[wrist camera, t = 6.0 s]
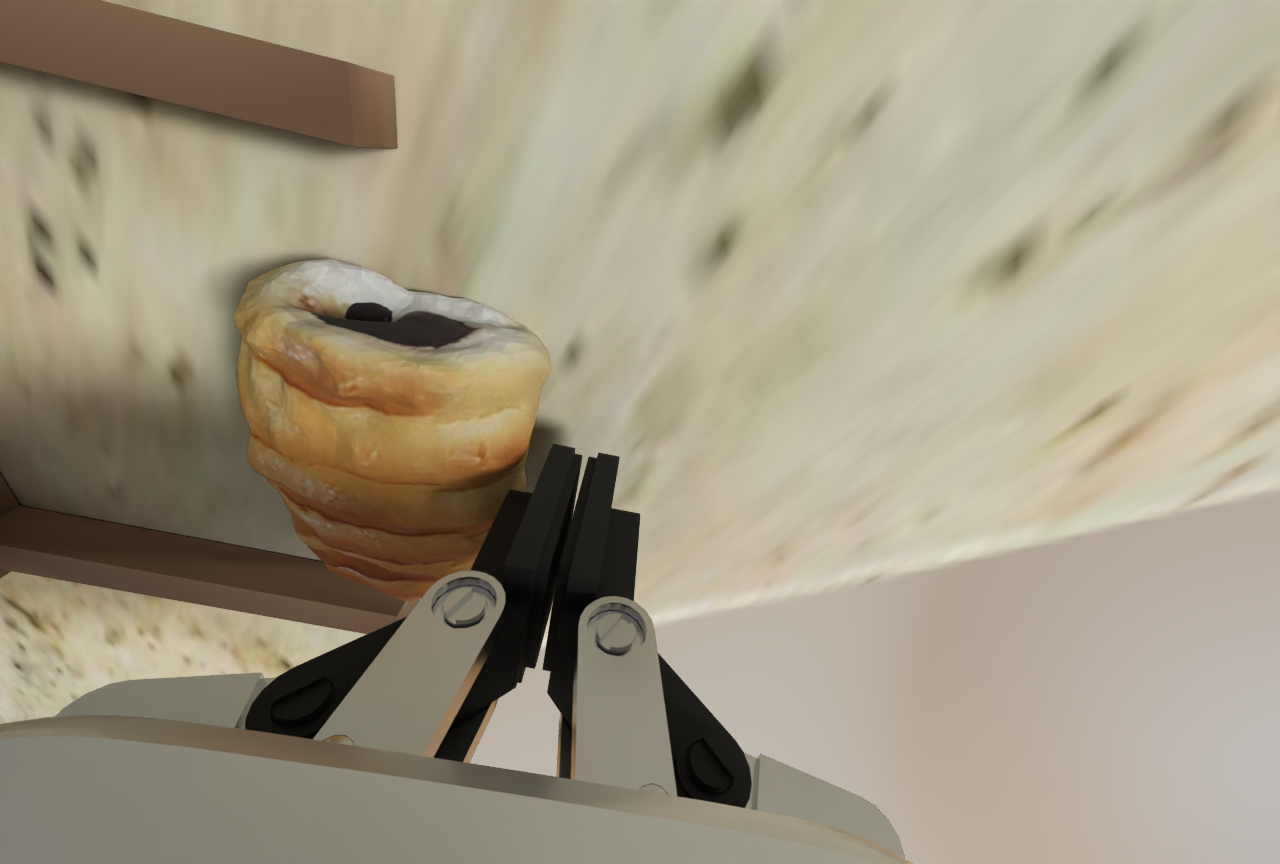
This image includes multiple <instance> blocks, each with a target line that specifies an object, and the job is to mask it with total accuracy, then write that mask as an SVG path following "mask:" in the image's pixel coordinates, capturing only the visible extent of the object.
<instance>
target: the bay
mask: <svg viewBox="0 0 1280 864" xmlns="http://www.w3.org/2000/svg"><path fill="white" fill-rule="evenodd" d="M0 62H4V63H8V64H12V65H17V66H21V67H25V68H29V69H33V70H37V71H42V72H46V73H50V74H54V75H58V76H62V77H67V78H71V79H75V80H79V81H83V82H87V83H92V84H96V85H100V86H104V87H108V88H112V89H116V90H121V91H125V92H129V93H133V94H137V95H141V96H146V97H150V98H154V99H158V100H162V101H166V102H171V103H175V104H179V105H183V106H187V107H191V108H196V109H200V110H204V111H208V112H212V113H216V114H221V115H225V116H229V117H233V118H237V119H241V120H246V121H250V122H254V123H258V124H262V125H266V126H271V127H275V128H279V129H283V130H287V131H291V132H296V133H300V134H304V135H308V136H312V137H316V138H320V139H325V140H329V141H333V142H337V143H341V144H345V145H350V146H354V147H377V148H398V147H397V127H396V106H395V86H394V76H392V75H389V74H385V73H382V72H379V71H375V70H372V69H369V68H365V67H362V66H358V65H355V64H352V63H348V62H344V61H340V60H336V59H333V58H329V57H325V56H321V55H317V54H313V53H309V52H305V51H301V50H297V49H293V48H289V47H285V46H281V45H277V44H273V43H269V42H265V41H261V40H257V39H253V38H249V37H245V36H241V35H237V34H233V33H229V32H225V31H221V30H217V29H213V28H209V27H205V26H201V25H197V24H193V23H189V22H185V21H181V20H177V19H173V18H169V17H165V16H161V15H157V14H153V13H149V12H145V11H141V10H137V9H133V8H129V7H125V6H121V5H117V4H113V3H109V2H105V1H101V0H0ZM11 571H14V572H20V573H25V574H31V575H37V576H42V577H48V578H54V579H59V580H65V581H71V582H76V583H82V584H88V585H93V586H99V587H105V588H110V589H116V590H121V591H127V592H133V593H138V594H144V595H150V596H155V597H161V598H167V599H172V600H178V601H184V602H189V603H195V604H201V605H206V606H212V607H217V608H223V609H229V610H234V611H240V612H246V613H251V614H257V615H263V616H268V617H274V618H280V619H285V620H291V621H297V622H302V623H308V624H314V625H319V626H325V627H330V628H336V629H342V630H347V631H353V632H359V633H364V634H369V633H371V632H374V631H376V630H378V629H380V628H383V627H385V626H387V625H389V624H391V623H394V622H396V621H398V620H400V619H403V618H405V617H407V616H408V615H409V614H410V613H411V612H412V610H413V609H414V608H415V606H416V605H417V604H418V603H419V601H420V600H415V601H412V602H408V601H403V600H400V599H398V598H393V597H389V596H385V595H383V594H381V593H379V592H377V591H376V590H375V589H372V588H371V587H368V586H363V585H361V584H359V583H357V582H355V581H353V580H350V579H346V578H342V577H339V576H338V575H336V574H334V573H332V572H330V570H329V569H328V568H327V567H326V566H325V563H324V562H321V561H315V560H310V559H305V558H299V557H294V556H288V555H283V554H278V553H272V552H267V551H261V550H256V549H251V548H245V547H240V546H234V545H229V544H224V543H218V542H213V541H207V540H202V539H197V538H191V537H186V536H180V535H175V534H170V533H164V532H159V531H153V530H148V529H143V528H137V527H132V526H126V525H121V524H116V523H110V522H105V521H100V520H94V519H89V518H83V517H78V516H73V515H67V514H62V513H56V512H51V511H46V510H40V509H35V508H29V507H24V506H20V505H19V504H18V502H17V500H16V499H15V497H14V495H13V494H12V492H11V491H10V489H9V487H8V486H7V484H6V482H5V481H4V479H3V478H2V476H1V474H0V578H1V577H3V576H4V575H6V574H8V573H9V572H11Z"/></svg>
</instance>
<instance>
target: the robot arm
mask: <svg viewBox="0 0 1280 864" xmlns="http://www.w3.org/2000/svg"><path fill="white" fill-rule="evenodd" d="M581 461H582V455H578V454H575V448H572V447H567V446H562V445H557V444H553V445H552V448H551V450H550V452H549V455H548V457H547V460H546V462H545V465H544V467H543V470H542V472H541V475H540V477H539V480H538V482H537V484H536V487H535V489H534V492H533V493H528V492H522V491H517V490H512V489H511V490H509V492H508V493H507V495H506V497H505V499H504V501H503V503H502V505H501V507H500V509H499V512H498V514H497V516H496V518H495V520H494V522H493V524H492V526H491V528H490V530H489V532H488V534H487V536H486V538H485V541H484V543H483V545H482V547H481V549H480V551H479V553H478V555H477V557H476V559H475V561H474V563H473V565H472V567H471V570H470V571H460V572H456V573H453V574H450V575H447V576H445V577H444V578H442V579H440V580H438V581H437V582H436V583H435V584H434V585H433V586H432V587H431V588H430V589H429V590H428V591H427V592H426V593H425V595H424V596H423V597H422V599H421V600H420V601H419V603H418V604H417V605H416V606H415V608H414V609H413V610H412V612H411V613H410V614H409V615H408V616H407V617H405V618H403V619H400V620H398V621H396V622H394V623H391V624H389V625H387V626H385V627H383V628H380V629H378V630H376V631H374V632H371V633H369V634H367V635H365V636H363V637H360V638H358V639H356V640H354V641H352V642H349V643H347V644H345V645H343V646H340V647H338V648H336V649H334V650H332V651H329V652H327V653H325V654H323V655H320V656H318V657H316V658H314V659H312V660H309V661H307V662H305V663H303V664H301V665H298V666H296V667H294V668H292V669H290V670H289V671H287V672H285V673H283V674H282V675H280V676H278V677H277V678H264V676H263V674H262V673H246V674H229V675H211V676H194V677H176V678H158V679H141V680H128V681H123V682H118V683H112V684H108V685H106V686H103V687H101V688H99V689H96V690H94V691H91V692H89V693H86V694H85V695H83V696H82V697H80V698H79V699H77V700H75V701H74V702H72V703H71V704H69V705H68V706H66V707H65V708H63V709H62V710H61V711H60V712H59V713H58V714H57V715H56V716H55V717H46V718H38V719H31V720H25V721H18V722H11V723H4V724H0V864H913V863H911V862H910V861H908V860H906V859H905V855H904V852H903V849H902V846H901V842H900V839H899V837H898V835H897V833H896V831H895V830H894V828H893V826H892V825H891V823H890V821H889V820H888V819H887V817H886V816H885V815H884V814H882V812H881V811H880V810H879V809H878V808H877V807H876V806H875V805H873V804H872V803H870V802H869V801H867V800H865V799H864V798H862V797H860V796H858V795H856V794H853V793H851V792H849V791H846V790H844V789H842V788H839V787H837V786H835V785H832V784H830V783H828V782H825V781H823V780H821V779H818V778H816V777H813V776H811V775H809V774H807V773H804V772H802V771H799V770H797V769H795V768H793V767H790V766H788V765H786V764H783V763H781V762H779V761H776V760H774V759H771V758H769V757H767V756H764V755H762V754H760V756H759V757H758V758H755V757H753V756H751V755H748V754H746V753H744V752H743V751H742V749H741V748H740V747H739V745H738V744H737V742H736V741H735V740H734V738H733V737H732V736H731V735H730V734H729V733H728V731H727V730H725V728H724V727H723V726H722V725H721V724H720V722H719V721H718V720H717V719H716V718H715V717H714V716H713V715H712V713H711V712H710V711H709V710H708V709H707V708H706V707H705V705H704V704H703V703H702V702H701V701H700V700H699V699H698V698H697V696H696V695H695V694H694V693H693V692H692V691H691V690H690V689H689V688H688V686H687V685H686V684H685V683H684V682H683V681H682V680H681V678H680V677H679V676H678V675H677V674H676V673H675V672H674V671H673V669H672V668H671V667H670V666H669V665H668V664H667V663H666V662H665V660H664V659H663V658H662V657H661V656H660V655H659V654H658V651H657V644H656V636H655V629H654V626H653V623H652V619H651V618H650V616H649V615H648V613H647V612H646V611H645V609H643V608H642V607H641V606H640V605H639V604H637V603H636V602H634V588H635V576H636V563H637V550H638V537H639V525H640V514H639V513H633V512H628V511H623V510H617V509H612V508H611V506H612V500H613V494H614V488H615V482H616V476H617V470H618V464H619V457H618V456H613V455H608V454H603V453H598V456H597V458H593V457H589V458H588V462H587V465H586V469H585V473H584V476H583V480H582V484H581V488H580V491H579V495H578V499H577V503H576V506H575V510H574V504H575V498H576V492H577V486H578V480H579V474H580V468H581ZM573 510H574V514H573ZM572 516H573V518H572ZM553 598H554V599H553ZM552 602H553V606H552ZM551 606H552V612H551V619H550V625H549V632H548V638H547V645H546V651H545V658H544V664H543V670H547V671H551V673H550V679H549V685H548V691H547V693H548V694H549V696H550V697H551V699H552V700H553V702H554V703H555V705H556V706H557V708H558V709H559V711H560V712H561V714H560V719H559V735H558V756H557V776H556V777H553V776H547V775H541V774H534V773H528V772H521V771H515V770H509V769H502V768H496V767H490V766H483V765H477V764H470V761H471V759H472V757H473V754H474V752H475V750H476V748H477V746H478V744H479V742H480V740H481V738H482V735H483V733H484V731H485V729H486V727H487V725H488V723H489V721H490V719H491V716H492V714H493V712H494V710H495V707H496V704H497V701H498V698H500V697H501V696H503V695H504V694H506V693H507V692H509V691H511V690H512V689H514V688H515V687H516V685H517V682H518V683H521V682H522V679H523V675H524V671H525V668H526V667H529V668H535V666H536V663H537V659H538V656H539V652H540V648H541V644H542V640H543V636H544V633H545V629H546V625H547V621H548V617H549V614H550V610H551Z"/></svg>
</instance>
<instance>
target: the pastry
mask: <svg viewBox="0 0 1280 864" xmlns="http://www.w3.org/2000/svg"><path fill="white" fill-rule="evenodd" d="M233 318H234V322H235V326H236V328H237V329H238V330H239V331H240V332H241V339H242V340H241V346H240V352H239V356H238V359H237V370H236V377H237V386H238V391H239V398H240V404H241V408H242V410H243V413H244V416H245V418H246V420H247V422H248V424H249V428H250V437H249V443H248V448H247V456H248V461H249V463H250V465H251V467H252V468H253V469H254V471H255V472H257V473H259V474H260V475H262V476H264V477H265V478H267V480H268V482H269V484H271V485H272V486H273V487H274V488H275V489H276V490H277V491H278V492H279V494H280V495H281V496H282V499H283V501H284V503H285V505H286V507H287V508H288V509H289V510H290V512H291V513H292V516H293V524H294V527H295V530H296V532H297V534H298V536H299V537H300V539H301V540H302V541H303V542H304V543H305V544H307V545H308V547H309V548H310V549H311V550H312V551H313V552H314V553H315V554H316V555H317V556H318V557H319V558H320V559H321V560H322V561H323V562H324V563H325V566H326V567H327V568H328V569H329V570H330V572H332V573H334V574H336V575H338V576H339V577H342V578H346V579H350V580H353V581H355V582H357V583H359V584H361V585H363V586H368V587H371V588H372V589H375V590H376V591H377V592H379V593H381V594H383V595H385V596H389V597H393V598H398V599H400V600H403V601H408V602H412V601H415V600H419V599H422V597H423V596H424V595H425V593H426V592H427V591H428V590H429V589H430V588H431V587H432V586H433V585H434V584H435V583H436V582H437V581H438V580H440V579H442V578H444V577H445V576H447V575H450V574H453V573H456V572H460V571H470V570H471V567H472V565H473V563H474V561H475V559H476V557H477V555H478V553H479V551H480V549H481V547H482V545H483V543H484V541H485V538H486V536H487V534H488V532H489V530H490V528H491V526H492V524H493V522H494V520H495V518H496V516H497V514H498V512H499V509H500V507H501V505H502V503H503V501H504V499H505V497H506V495H507V493H508V492H509V490H511V489H512V490H517V491H522V492H525V489H526V482H527V481H526V475H525V470H524V465H525V463H526V459H527V456H528V452H529V441H530V437H531V434H532V430H533V427H534V424H535V421H536V416H537V411H538V404H539V398H540V394H541V390H542V387H543V386H544V384H545V382H546V381H547V379H548V377H549V376H550V374H551V365H550V358H549V353H548V350H547V348H546V347H545V346H544V344H543V343H542V342H541V340H540V339H539V338H538V337H537V335H535V334H533V333H532V332H531V331H530V330H529V329H528V328H527V327H526V326H524V325H523V324H521V323H518V322H516V321H515V320H514V319H512V318H510V317H508V316H507V315H505V314H503V313H502V312H499V311H497V310H495V309H492V308H490V307H487V306H485V305H482V304H480V303H477V302H475V301H472V300H469V299H463V298H451V297H447V296H444V295H441V294H435V293H427V292H413V291H408V290H406V289H404V288H402V287H400V286H399V285H397V284H395V283H393V282H392V281H391V280H390V279H388V278H386V277H384V276H382V275H381V274H379V273H377V272H374V271H372V270H369V269H366V268H364V267H360V266H355V265H351V264H347V263H344V262H341V261H338V260H333V259H317V260H306V261H299V262H294V263H290V264H287V265H283V266H281V267H278V268H276V269H273V270H271V271H268V272H266V273H264V274H262V275H260V276H258V277H256V278H255V279H253V280H251V281H250V282H249V283H248V285H247V287H246V289H245V293H244V294H243V296H242V298H241V300H240V303H239V305H238V306H237V308H236V310H235V312H234V313H233Z"/></svg>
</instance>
